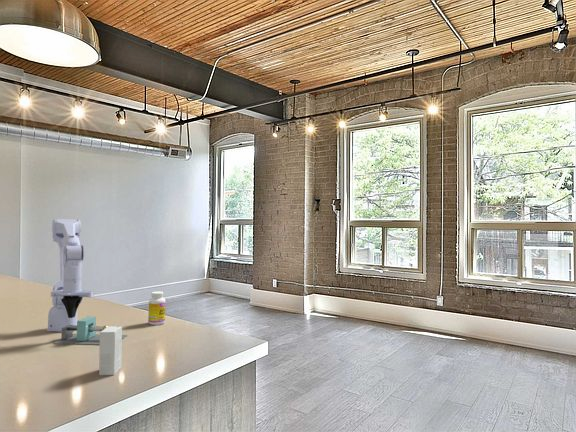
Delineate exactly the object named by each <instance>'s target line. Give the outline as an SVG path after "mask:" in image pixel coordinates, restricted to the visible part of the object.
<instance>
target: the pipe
mask: <svg viewBox="0 0 576 432" xmlns="http://www.w3.org/2000/svg"><path fill="white" fill-rule="evenodd" d="M109 326H110V325H96V326H88V331H96V332H101V331H102V330H104V329H105V328H106V327H109ZM120 326H121V327H122V328H123V326H122V325H120ZM74 331H75V332H77V325H67V326H65V327H63V328H62V332H61V339H60V340H67V339H69V338H71V337H73V334H74Z"/></svg>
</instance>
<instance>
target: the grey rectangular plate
mask: <svg viewBox="0 0 576 432" xmlns="http://www.w3.org/2000/svg"><path fill="white" fill-rule="evenodd" d="M126 337H128V335H127V334H122V340H123V339H125V338H126ZM53 344H54V345H55V344H56V345H84V346H85V345H87V346H91V345H92V346H100V333H99V334H97V333H96V334H95V336H93V337H91V338H90V339H88V340H86V341H77V333H73V337H71V338H69V339H67V340H61V339H59V340H56V341H55V342H53Z"/></svg>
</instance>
